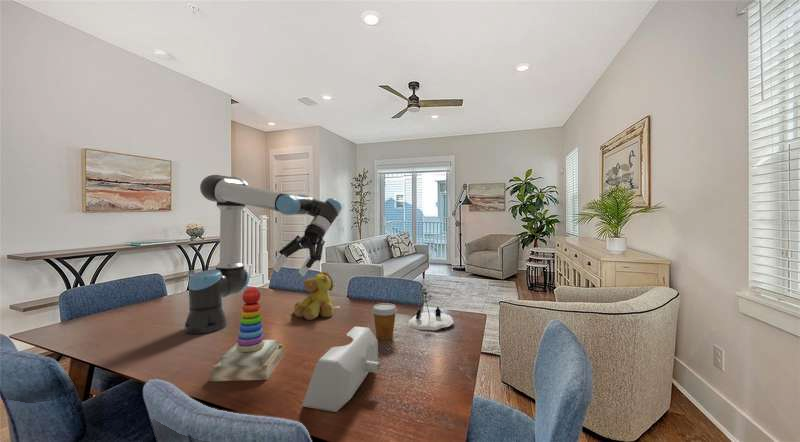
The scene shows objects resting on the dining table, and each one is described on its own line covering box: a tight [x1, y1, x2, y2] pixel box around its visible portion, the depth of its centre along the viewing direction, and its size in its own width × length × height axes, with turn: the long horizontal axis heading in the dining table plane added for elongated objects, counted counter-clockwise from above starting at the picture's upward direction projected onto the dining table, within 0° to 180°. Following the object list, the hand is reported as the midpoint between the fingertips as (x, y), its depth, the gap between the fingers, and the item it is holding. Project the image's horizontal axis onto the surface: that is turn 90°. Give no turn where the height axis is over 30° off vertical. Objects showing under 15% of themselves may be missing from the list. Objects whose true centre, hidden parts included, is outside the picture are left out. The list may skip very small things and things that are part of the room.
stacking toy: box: [236, 287, 265, 352], centre depth 97 cm, size 8×8×19 cm
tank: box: [302, 326, 381, 413], centre depth 87 cm, size 25×16×12 cm, turn 166°
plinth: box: [209, 339, 286, 382], centre depth 97 cm, size 16×16×6 cm
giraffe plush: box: [293, 271, 341, 321], centre depth 151 cm, size 20×24×19 cm
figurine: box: [408, 287, 454, 331], centre depth 135 cm, size 20×18×16 cm
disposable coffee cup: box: [371, 302, 398, 341], centre depth 120 cm, size 10×10×12 cm
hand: (287, 272), depth 114 cm, fingers open, 13 cm apart
